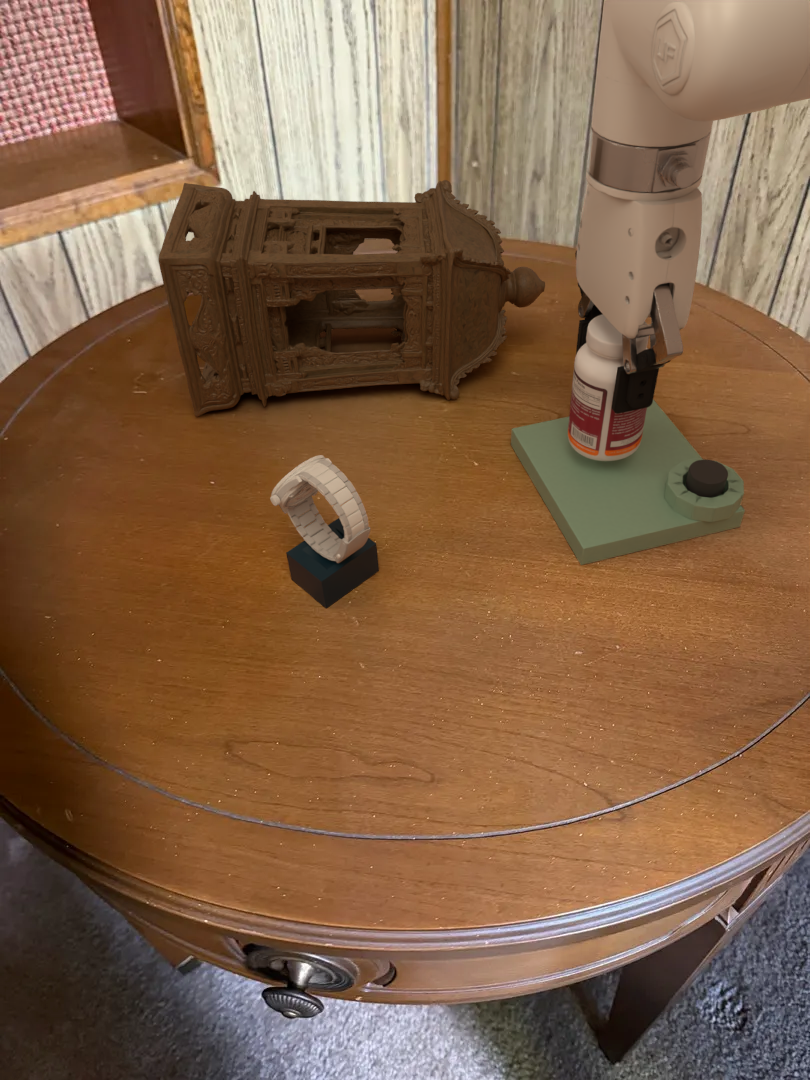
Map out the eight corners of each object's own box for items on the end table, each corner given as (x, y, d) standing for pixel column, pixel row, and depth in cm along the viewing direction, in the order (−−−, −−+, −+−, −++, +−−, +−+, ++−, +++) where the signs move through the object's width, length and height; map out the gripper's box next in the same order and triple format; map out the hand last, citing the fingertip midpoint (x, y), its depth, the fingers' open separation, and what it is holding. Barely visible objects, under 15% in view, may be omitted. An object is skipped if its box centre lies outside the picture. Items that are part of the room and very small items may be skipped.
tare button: (731, 493, 68) (735, 479, 67) (697, 501, 67) (700, 487, 66) (711, 470, 70) (715, 455, 69) (678, 478, 69) (682, 463, 68)
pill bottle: (640, 421, 74) (660, 308, 66) (640, 467, 70) (662, 352, 62) (568, 416, 75) (580, 304, 67) (564, 461, 71) (576, 347, 63)
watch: (329, 532, 71) (312, 428, 64) (393, 582, 67) (384, 476, 59) (275, 567, 69) (252, 463, 61) (340, 621, 64) (323, 517, 57)
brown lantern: (527, 337, 96) (539, 164, 84) (552, 415, 82) (571, 218, 70) (216, 348, 95) (187, 175, 84) (188, 427, 81) (148, 232, 70)
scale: (748, 529, 69) (758, 497, 67) (583, 569, 67) (587, 538, 65) (654, 414, 81) (660, 383, 78) (510, 444, 78) (512, 414, 76)
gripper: (771, 198, 50) (708, 438, 63) (639, 105, 62) (609, 322, 75) (655, 219, 49) (615, 458, 62) (543, 119, 61) (529, 337, 74)
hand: (612, 382), depth 68 cm, fingers closed on pill bottle, 6 cm apart
